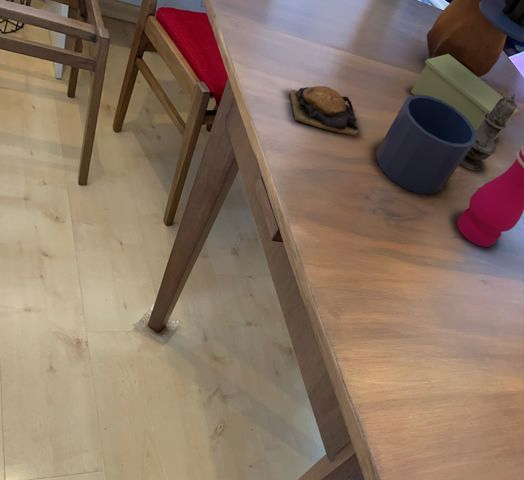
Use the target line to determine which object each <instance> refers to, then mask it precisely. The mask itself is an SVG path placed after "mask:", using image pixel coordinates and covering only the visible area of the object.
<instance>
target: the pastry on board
mask: <svg viewBox="0 0 524 480" xmlns="http://www.w3.org/2000/svg"><path fill="white" fill-rule="evenodd" d="M289 96H290V97H289V98H290V101H291V106H292V111H293V115H294V120H295V121H299V122H301V123H304V124H306V125H310V126H313V127H317V128H319V129H324V130H325V131H326V130H327V131H331V132H337V134H340V133H342V134H346V135H350V136H358V133H359V131H358V129H359V127H358V126H357V124H356V121H357V118H356V116H355V111H354V108H353V104H352V101H351V100H350V98H349V96H345V95H344V96H342V95H341V94H340V93H339V92H338V91H337V90H335V89H333V88H331V87H329V86H326V85H325V86H322V85H321V86H320V85H319V86H318V85H317V86H310V87H309V86H306V87H300V88H299V89H298V90H296V89H291V90H290V91H289Z"/></svg>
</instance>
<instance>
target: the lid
mask: <svg viewBox="0 0 524 480" xmlns="http://www.w3.org/2000/svg"><path fill="white" fill-rule="evenodd" d="M505 6H506V3H505V1H502V0H481V1H480V3H479V8H480V10H481V12H482V14H483V15H484V16H485V17H486V18H487V19H488V20H489V21H490V22H491V23H492V24H493V25H494V26H495V27H496V28H497V29H498V30H500V31H501V32H503V33H504V34H506V35H507V36H506V37H509V38H511V39H513V40H515V41H518V42H520V43H524V27H523V26H521V25H520V22H521V21H522V19H523V18H524V0H517V1H516V3H515V4H514V6H513V8H512V9H511V11H510V12H509V13H504V12H503V9H504V7H505Z"/></svg>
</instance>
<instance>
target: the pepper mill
mask: <svg viewBox="0 0 524 480" xmlns="http://www.w3.org/2000/svg"><path fill="white" fill-rule="evenodd" d="M515 156H516V158H515V160H514V161H513V163H512V164H511V165H510V166H509V167H508V168H507V169H506V170H505V171H504V172H502V173H501V174H500V175H498V176H497V177H494V178H493V179H492V180H490V181H488V182H486V183H484V184H483V185H481V186H480V187H479V188H477V190H476V191H475V192H474V193H473V194H472V195H471V197H470V199H469V202H468V208H466V209H464V211H463V212H462V213H461V214H460V215H459V217H458V218H457V221H456V224H457V228H458V230H459V232H460V233H461V235H462V236H463V237H464V238H465V239H466V240H467V241H469V242H471V243H472V244H474V245H477V246H479V247H483V248H489V247H492V246H493V245H494V244H495V243H496V242H497V241H498V240H499V239H500V238H501V236H502V233H503V232H509V231H510V230H512V229H514V227H516V226H517V224H518V223H519V222H520V220H521V217H522V216H523V214H524V144H523V145H522V146H521V148H520V149H519V150H518V151H517V152H516V155H515Z"/></svg>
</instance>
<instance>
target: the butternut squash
mask: <svg viewBox="0 0 524 480" xmlns="http://www.w3.org/2000/svg"><path fill="white" fill-rule="evenodd" d="M480 1H481V0H451V2H450V3H449V4H448V5H447V6H446V7H444V9H443V10H442V11H441V12H440V14H439V15H438V16H437V18H436V20H435V21H434V23H433V25H432V27H431V28H430V29H429V30H428V32H427V33H426V42H427V49H428V56H429V57H430V58H429V59H431V58H434V57H438V56H442V55H446V54H449V55H451V56H452V57H453V58H454V59H456V60H457V61H458V62H459V63H461V64H462V65H463V66H464V67H466V68H467V69H468V70H469V71H471V72H472V73H473V74H474V75H476V76H477V77H478V78H481V77H483V76H485V75H487V74H489V72H491V70H492V68H494V66H495V65H496V64H497V62H498V61H499V60H500V58H501V55H502V52H503V51H504V47H505V44H506V40H507V37H508V36H507V35H506V34H504V33H503V32H501V31H500V30H498V29H497V28H496V27H495V26H494V25H493V24H492V23H491V22H490V21H489V20H488V19H487V18H486V17H485V16H484V15H483V14H482V12H481V10H480V8H479V3H480ZM502 1H506V0H502Z"/></svg>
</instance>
